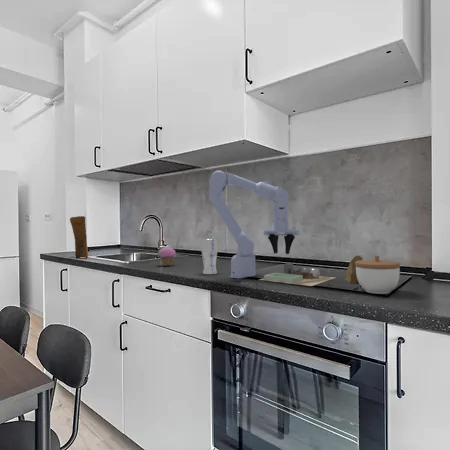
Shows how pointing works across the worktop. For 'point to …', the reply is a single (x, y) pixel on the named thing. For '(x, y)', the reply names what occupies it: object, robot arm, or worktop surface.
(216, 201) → the robot arm
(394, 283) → the lidded bowl
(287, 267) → the grey stepped block
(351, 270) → the rock
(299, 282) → the board
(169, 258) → the cupcake
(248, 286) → the worktop surface
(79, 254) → the pancake mix bag
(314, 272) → the grey cylinder
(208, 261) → the beer glass
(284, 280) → the tray
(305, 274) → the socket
